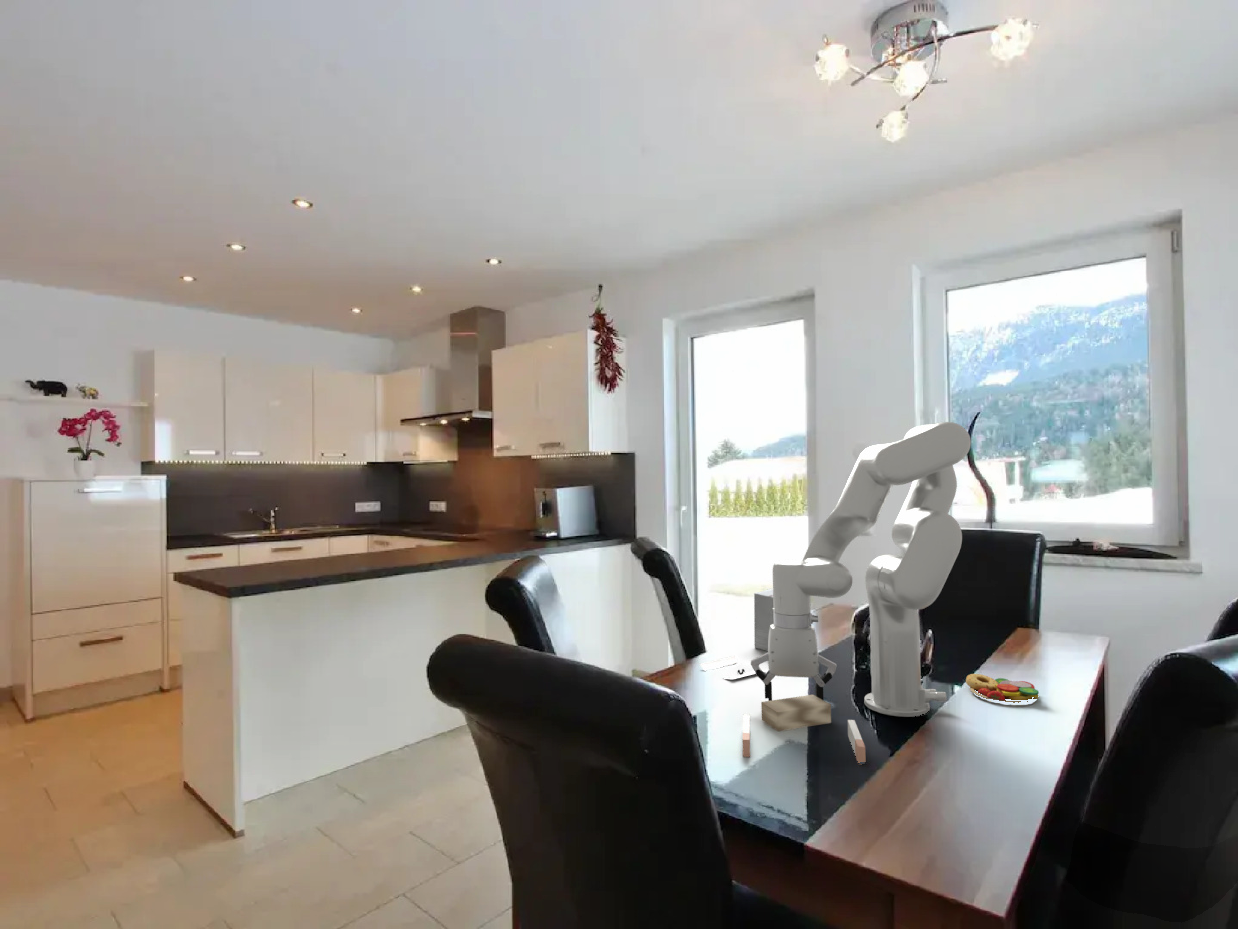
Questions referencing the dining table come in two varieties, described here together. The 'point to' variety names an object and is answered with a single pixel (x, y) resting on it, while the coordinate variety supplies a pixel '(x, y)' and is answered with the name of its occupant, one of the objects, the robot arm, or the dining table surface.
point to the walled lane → (852, 734)
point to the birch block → (796, 712)
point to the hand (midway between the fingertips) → (793, 703)
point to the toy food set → (1001, 688)
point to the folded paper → (722, 663)
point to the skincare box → (763, 617)
